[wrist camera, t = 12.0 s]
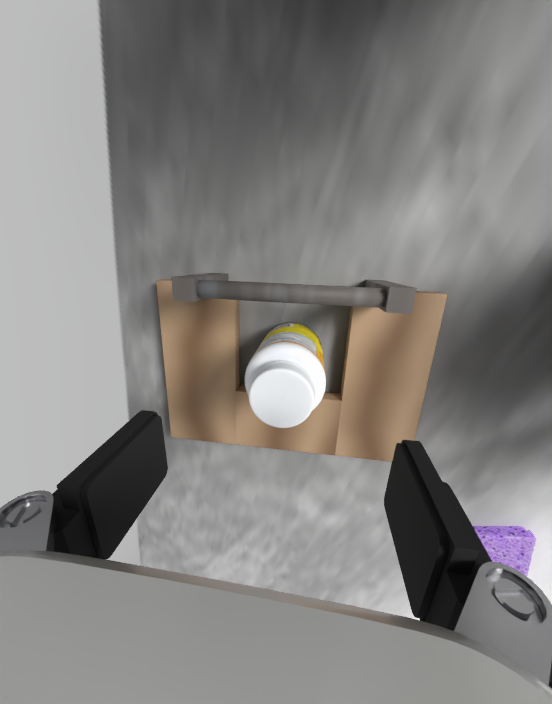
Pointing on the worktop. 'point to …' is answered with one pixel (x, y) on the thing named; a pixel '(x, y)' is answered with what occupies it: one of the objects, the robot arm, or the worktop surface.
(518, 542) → the sponges
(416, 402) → the shelf board
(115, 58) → the worktop surface
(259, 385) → the supplement bottle
